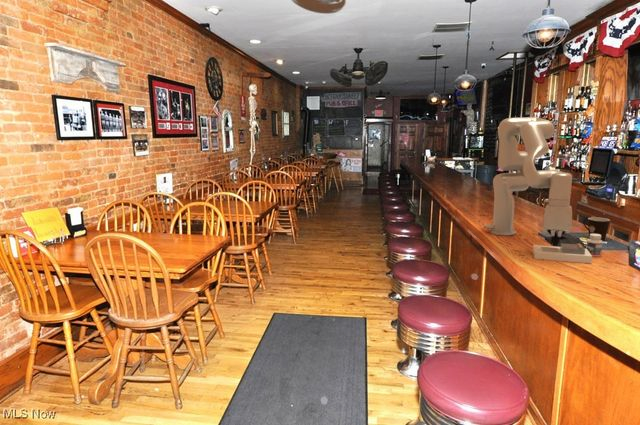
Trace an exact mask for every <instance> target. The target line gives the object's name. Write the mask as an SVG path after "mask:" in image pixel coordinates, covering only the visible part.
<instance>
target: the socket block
mask: <svg viewBox="0 0 640 425" xmlns="http://www.w3.org/2000/svg"><path fill="white" fill-rule="evenodd" d="M532 254H533V258H534V259H535V260H542V259H544V261H555V262H568V263H582V264H592V263H593V262H592V261H593V256H592V255H591V254H590V253H589V251H588V250H587V249H585V254H572V253H563V252H562V250H561V247H556V246H553V245H552V246H550V245H537V244H533V245H532Z"/></svg>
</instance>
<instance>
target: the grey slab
mask: <svg viewBox="0 0 640 425" xmlns="http://www.w3.org/2000/svg"><path fill="white" fill-rule="evenodd" d="M561 250H562V252H563V253H572V254H585V249H584V247H583V246H582V245H581V244H579V243H577V244H562V243H561Z"/></svg>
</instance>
